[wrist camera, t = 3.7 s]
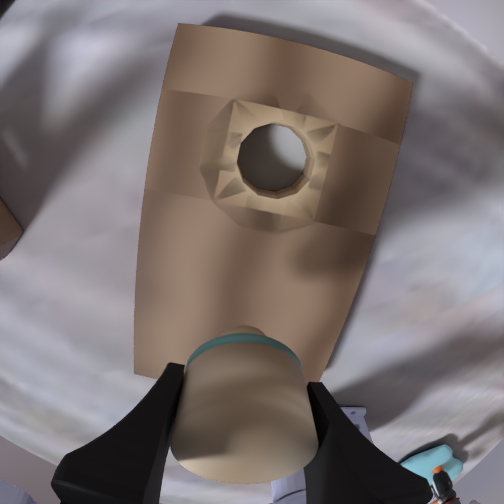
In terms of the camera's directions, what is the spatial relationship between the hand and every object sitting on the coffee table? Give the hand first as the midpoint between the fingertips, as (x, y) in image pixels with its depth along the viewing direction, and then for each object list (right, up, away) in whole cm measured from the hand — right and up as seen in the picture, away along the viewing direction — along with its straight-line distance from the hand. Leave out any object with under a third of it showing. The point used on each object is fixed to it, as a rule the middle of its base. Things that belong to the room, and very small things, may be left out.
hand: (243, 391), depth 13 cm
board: (+1, +7, +9) cm, 11 cm away
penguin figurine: (+27, -27, +23) cm, 45 cm away
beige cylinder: (0, +1, +3) cm, 3 cm away
